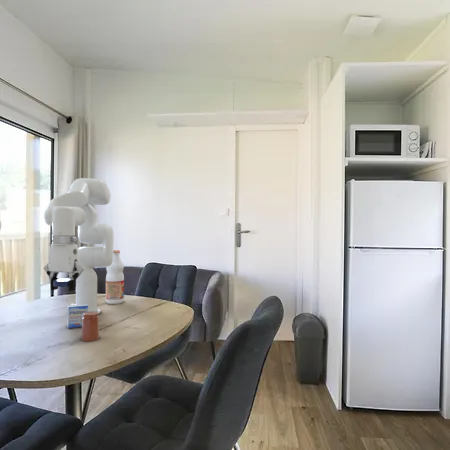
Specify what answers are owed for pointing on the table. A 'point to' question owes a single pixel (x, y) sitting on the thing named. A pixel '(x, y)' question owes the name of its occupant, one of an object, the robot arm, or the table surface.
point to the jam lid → (61, 282)
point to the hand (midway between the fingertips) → (63, 289)
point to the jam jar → (90, 326)
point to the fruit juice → (115, 280)
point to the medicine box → (75, 315)
